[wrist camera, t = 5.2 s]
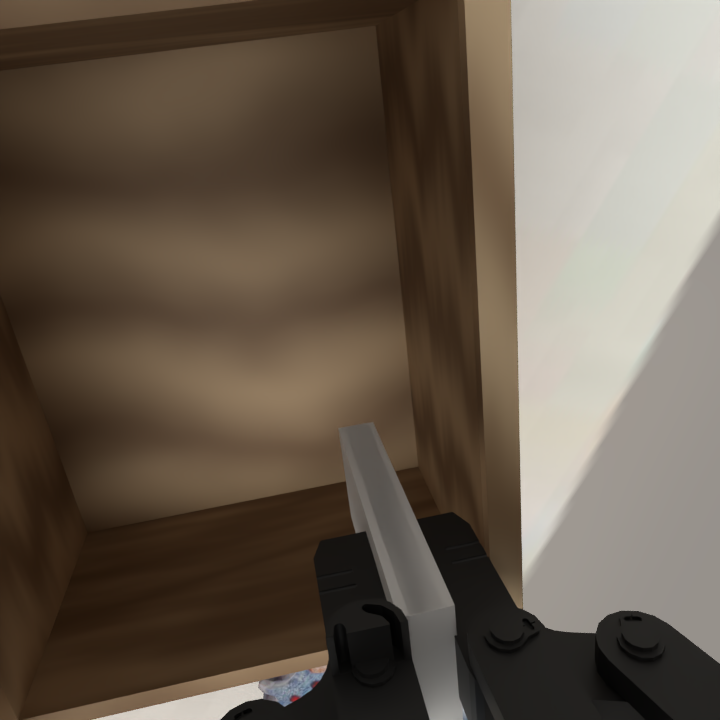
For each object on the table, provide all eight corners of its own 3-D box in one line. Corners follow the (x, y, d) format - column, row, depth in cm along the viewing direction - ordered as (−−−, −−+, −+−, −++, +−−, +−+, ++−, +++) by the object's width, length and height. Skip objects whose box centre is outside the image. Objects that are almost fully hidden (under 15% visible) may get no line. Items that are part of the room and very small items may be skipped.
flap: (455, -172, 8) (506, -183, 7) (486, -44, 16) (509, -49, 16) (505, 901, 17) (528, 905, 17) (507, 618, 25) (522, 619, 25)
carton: (-98, 61, 25) (-365, 29, 14) (387, 5, 27) (484, -62, 16) (80, 538, 35) (3, 740, 24) (429, 468, 37) (507, 623, 26)
